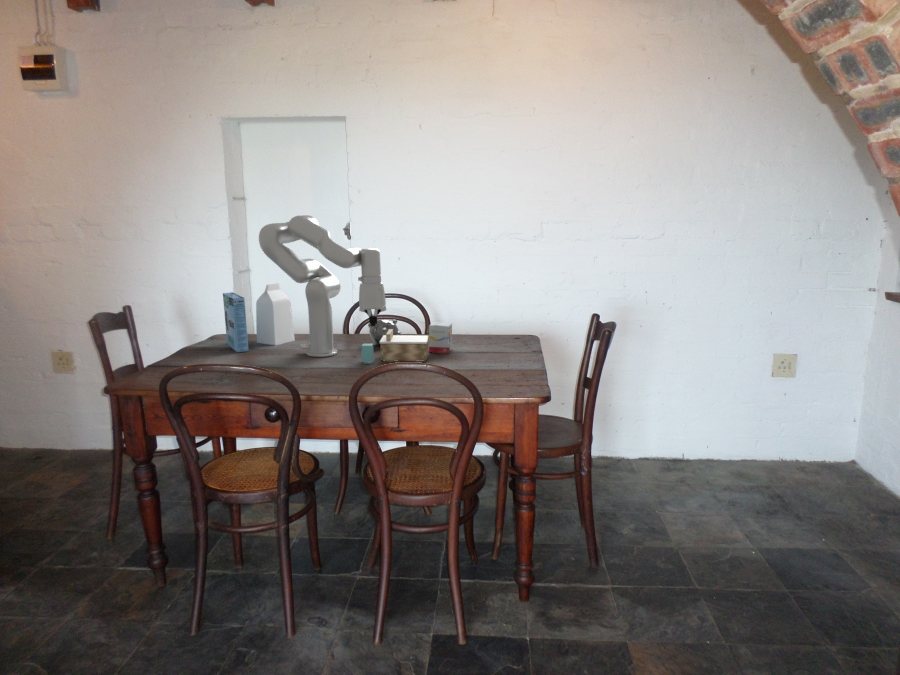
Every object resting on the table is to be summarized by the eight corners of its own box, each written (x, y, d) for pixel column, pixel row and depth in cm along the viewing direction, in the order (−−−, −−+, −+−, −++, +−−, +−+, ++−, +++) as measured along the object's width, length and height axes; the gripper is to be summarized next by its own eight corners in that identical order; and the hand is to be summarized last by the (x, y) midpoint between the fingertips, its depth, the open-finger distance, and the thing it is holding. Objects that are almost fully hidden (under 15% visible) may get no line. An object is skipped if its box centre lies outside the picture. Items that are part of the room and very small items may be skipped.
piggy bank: (396, 349, 270) (395, 322, 268) (363, 346, 274) (363, 320, 272) (404, 343, 281) (404, 318, 278) (373, 341, 285) (373, 316, 282)
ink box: (448, 353, 262) (448, 325, 260) (428, 352, 264) (428, 325, 262) (452, 349, 271) (452, 322, 268) (433, 348, 272) (432, 321, 270)
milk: (275, 345, 276) (272, 286, 271) (256, 342, 282) (253, 284, 277) (294, 340, 287) (291, 283, 281) (276, 337, 292) (273, 281, 287)
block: (361, 363, 246) (361, 345, 245) (363, 360, 250) (363, 343, 249) (372, 363, 246) (371, 345, 245) (373, 360, 250) (373, 343, 249)
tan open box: (380, 361, 249) (380, 344, 248) (384, 354, 261) (384, 337, 259) (426, 361, 249) (426, 344, 247) (427, 354, 260) (427, 338, 259)
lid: (379, 343, 247) (379, 334, 247) (383, 336, 260) (383, 328, 259) (426, 343, 247) (426, 335, 246) (428, 337, 259) (428, 328, 259)
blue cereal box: (248, 351, 265) (245, 297, 260) (236, 352, 262) (232, 298, 258) (237, 342, 281) (234, 292, 276) (225, 344, 279) (222, 292, 274)
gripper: (351, 281, 245) (353, 327, 249) (389, 280, 245) (391, 327, 248) (354, 279, 252) (356, 324, 256) (391, 278, 252) (393, 323, 256)
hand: (373, 325), depth 252 cm, fingers closed
